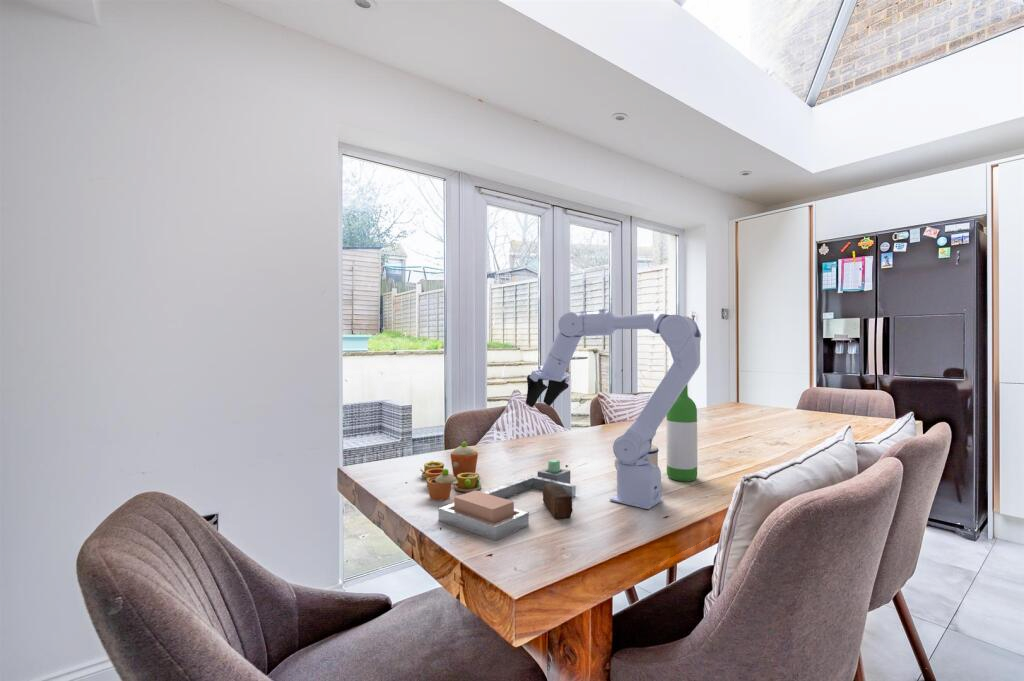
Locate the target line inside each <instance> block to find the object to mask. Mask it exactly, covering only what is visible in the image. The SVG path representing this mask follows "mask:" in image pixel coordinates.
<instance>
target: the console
mask: <svg viewBox="0 0 1024 681" xmlns="http://www.w3.org/2000/svg"><path fill="white" fill-rule="evenodd" d="M537 477H541V478H546V479H550V480H555V481H559V482H564V483H568V484H571V470H569V469H565V468H560V472H559V473H556V474H555V473H550V472H548V467H547V468H543V469H540V470H538V471H537Z"/></svg>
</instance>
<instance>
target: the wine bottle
mask: <svg viewBox="0 0 1024 681" xmlns="http://www.w3.org/2000/svg"><path fill="white" fill-rule="evenodd" d="M688 392H689V391H688V384H687V385H686V387H685V388H684V390H683V391H682V393H681V394H680V396H679V397H678V399H677V400H676V402H675V403H674V404H673V406H672V407H671V409H670V410H669V412H668V413H667V415H666V475H667V477H668V479H669V478H670V479H671V480H674V481H678V482H692V481H695V480H697V477H698V408H697V405H696V403H695V401H694V400H693V399H692V398H690V397H689V393H688Z"/></svg>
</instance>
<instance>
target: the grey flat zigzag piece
mask: <svg viewBox="0 0 1024 681" xmlns="http://www.w3.org/2000/svg"><path fill="white" fill-rule="evenodd" d="M545 485H560V486H562V487H563V488H564V489H565V490H566V491H567V492H568V493H569V495H570V496H571V497H572V498H573V496H574V497H575V495H576V487H577V486H576V484H571V483H570V484H568V483H564V482H559V481H555V480H550V479H546V478H541V477H538V475H536V476H535V475H530V476H527V477H524V478H521V479H518V480H516V481H512V482H509V483H506V484H504V485H501V486H498V487H496V488H495V487H494V488H492V489H489V490H486V491H483V493H486V494H490V495H493V496H496V497H500V498H503V499H507V498H510V497H514V496H515V494H516V495H518V494H520V492H521V493H523V491H524V492H527V491H528V489H529V490H531V489H536V488H537V489H538V490H540V489H541V491H543V490H544V486H545ZM537 489H536V490H537ZM529 515H530V514H529V512H528V511H525V510H521V509H518V508H515V507H514V516H511V517H509V518H507V519H505V520H502V521H500V522H498V523H492V522H489V521H486V520H483V519H480V518H477V517H474V516H470V515H467V514H464V513H461V512H458V511H455V510H454V502H453V503H449V504H447V505H444V506H441V507H439V508H438V521H439V522H442V523H445V524H448V525H451V526H453V527H456V528H460V529H462V530H465V531H467V532H470V533H474V534H476V535H478V536H482V537H483V538H484V537H485V538H486V539H487V538H488V539H490V540H494V542H496V541H499V540H500V539H503V538H504V537H507V536H508V535H510V534H514V533H516V532H517V531H519V530H521V529H523V528H526V527H527V526H529V524H530V522H529V521H530V520H529V519H530V518H529V517H530V516H529Z"/></svg>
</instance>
